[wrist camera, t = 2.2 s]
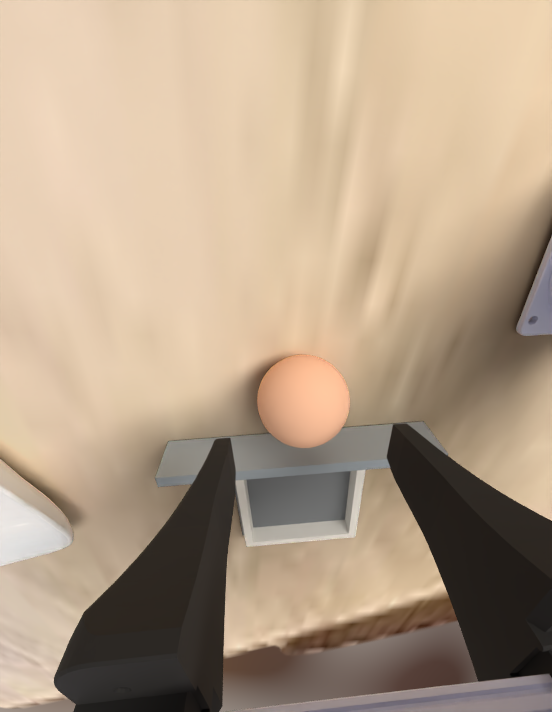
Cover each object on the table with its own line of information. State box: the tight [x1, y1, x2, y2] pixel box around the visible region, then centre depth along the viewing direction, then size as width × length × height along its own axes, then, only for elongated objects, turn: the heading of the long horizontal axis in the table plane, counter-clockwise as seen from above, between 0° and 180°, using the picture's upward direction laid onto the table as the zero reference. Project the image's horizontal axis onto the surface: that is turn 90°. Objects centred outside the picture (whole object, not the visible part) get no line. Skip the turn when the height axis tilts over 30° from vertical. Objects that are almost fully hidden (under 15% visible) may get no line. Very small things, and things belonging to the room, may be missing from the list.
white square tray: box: [235, 470, 366, 547], centre depth 22 cm, size 10×10×2 cm
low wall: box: [155, 421, 448, 487], centre depth 19 cm, size 1×18×3 cm, turn 92°
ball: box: [257, 355, 350, 448], centre depth 16 cm, size 5×5×5 cm
